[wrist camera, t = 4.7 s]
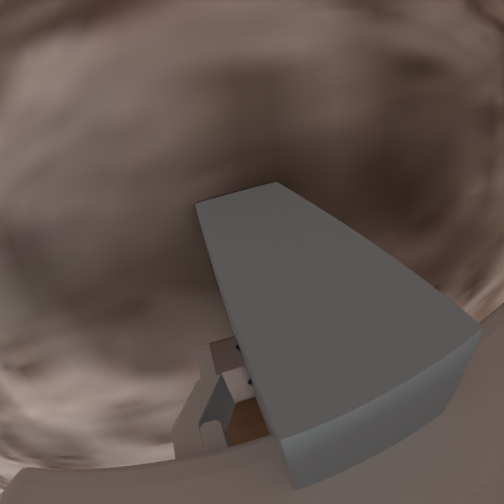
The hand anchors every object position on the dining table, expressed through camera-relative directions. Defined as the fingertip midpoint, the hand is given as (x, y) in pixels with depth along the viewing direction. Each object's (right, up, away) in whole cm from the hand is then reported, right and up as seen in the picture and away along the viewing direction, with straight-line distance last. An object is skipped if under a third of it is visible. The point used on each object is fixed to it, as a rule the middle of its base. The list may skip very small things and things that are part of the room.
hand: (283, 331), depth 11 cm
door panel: (-1, +2, +3) cm, 4 cm away
